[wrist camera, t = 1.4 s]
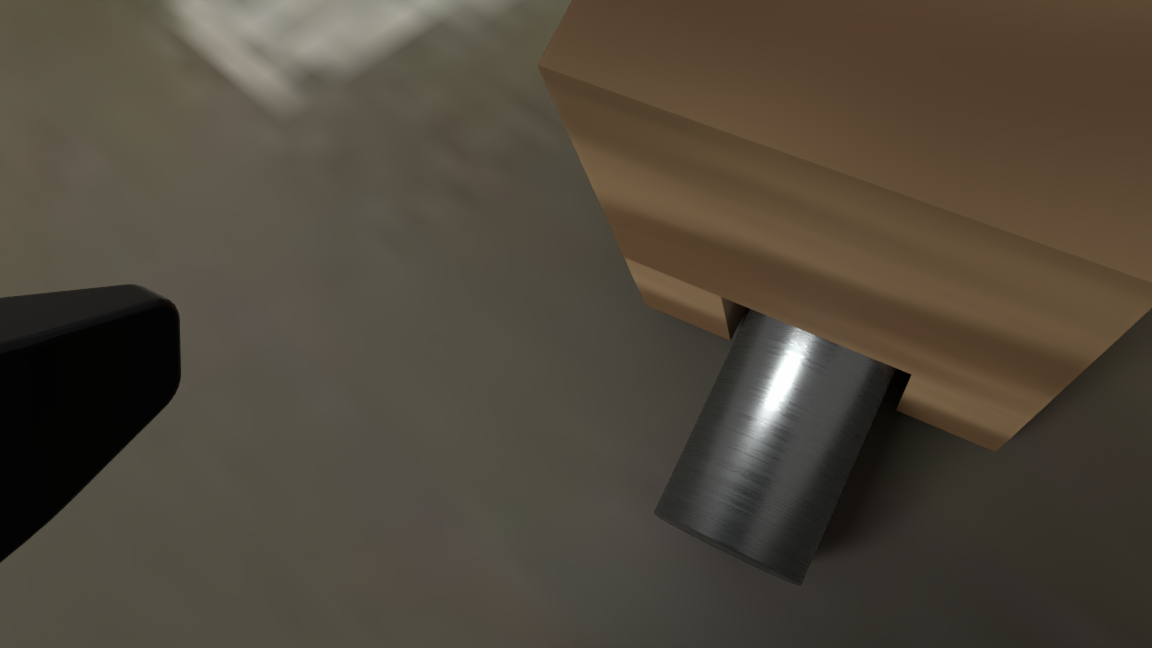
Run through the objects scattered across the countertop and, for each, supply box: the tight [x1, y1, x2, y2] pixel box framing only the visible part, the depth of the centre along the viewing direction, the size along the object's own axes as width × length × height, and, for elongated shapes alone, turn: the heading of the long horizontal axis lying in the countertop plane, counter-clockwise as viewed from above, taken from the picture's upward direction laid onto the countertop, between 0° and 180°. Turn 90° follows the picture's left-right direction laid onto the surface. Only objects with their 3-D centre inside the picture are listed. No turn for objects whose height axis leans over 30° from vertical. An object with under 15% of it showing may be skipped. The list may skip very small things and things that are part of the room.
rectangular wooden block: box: [538, 0, 1152, 452], centre depth 17 cm, size 4×8×10 cm, turn 64°
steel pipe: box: [654, 309, 896, 586], centre depth 21 cm, size 16×3×3 cm, turn 154°
